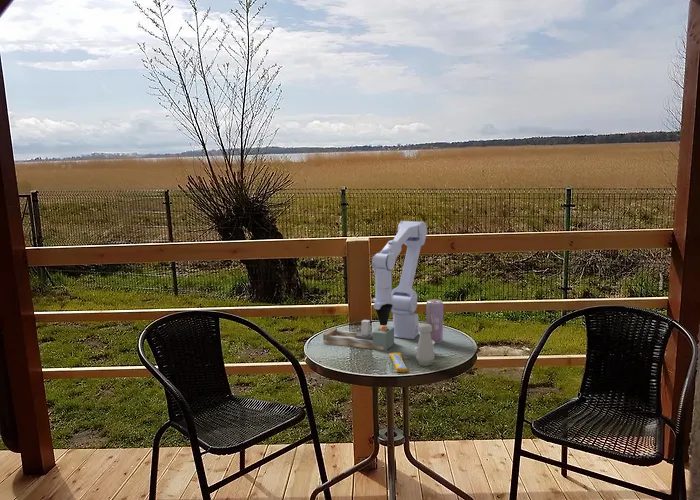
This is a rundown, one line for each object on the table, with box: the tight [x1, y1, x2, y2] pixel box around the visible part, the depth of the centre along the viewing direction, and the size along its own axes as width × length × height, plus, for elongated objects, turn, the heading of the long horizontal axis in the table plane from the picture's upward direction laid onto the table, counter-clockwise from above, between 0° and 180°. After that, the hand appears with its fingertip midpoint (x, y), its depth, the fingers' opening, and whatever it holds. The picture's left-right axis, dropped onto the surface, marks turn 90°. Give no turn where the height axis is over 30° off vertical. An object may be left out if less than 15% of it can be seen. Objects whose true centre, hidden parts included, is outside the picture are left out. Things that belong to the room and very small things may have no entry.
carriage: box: [355, 319, 373, 340], centre depth 188 cm, size 6×5×7 cm
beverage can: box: [425, 298, 444, 344], centre depth 190 cm, size 6×6×15 cm
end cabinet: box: [372, 325, 395, 351], centre depth 185 cm, size 5×9×6 cm, turn 157°
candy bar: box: [388, 352, 410, 373], centre depth 167 cm, size 17×4×2 cm, turn 4°
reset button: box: [379, 325, 387, 331], centre depth 185 cm, size 3×3×2 cm
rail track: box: [322, 327, 384, 351], centre depth 189 cm, size 23×9×3 cm, turn 68°
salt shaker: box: [415, 323, 435, 367], centre depth 166 cm, size 6×6×13 cm
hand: (383, 324), depth 185 cm, fingers closed
